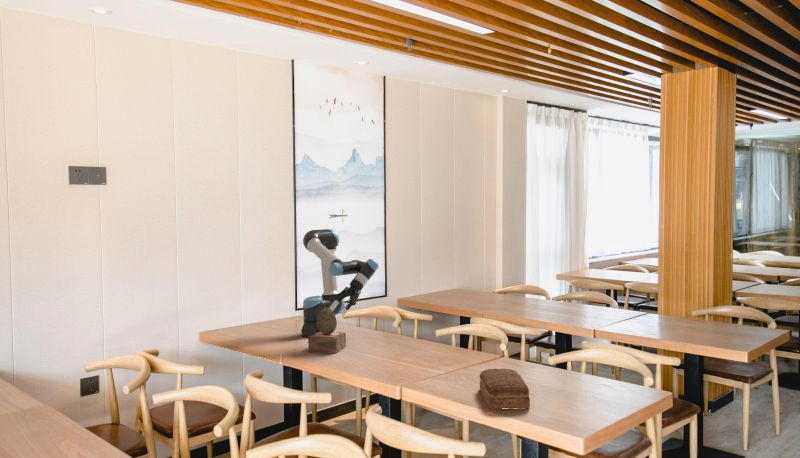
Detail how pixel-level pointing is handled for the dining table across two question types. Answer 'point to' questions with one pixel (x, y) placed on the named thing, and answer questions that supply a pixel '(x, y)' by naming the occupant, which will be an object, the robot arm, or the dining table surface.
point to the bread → (504, 389)
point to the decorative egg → (326, 321)
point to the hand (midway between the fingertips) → (336, 312)
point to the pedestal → (327, 342)
